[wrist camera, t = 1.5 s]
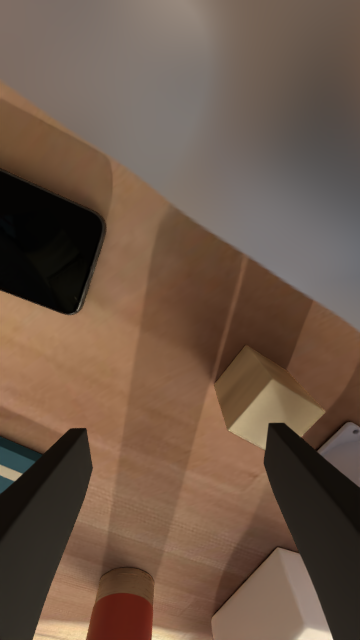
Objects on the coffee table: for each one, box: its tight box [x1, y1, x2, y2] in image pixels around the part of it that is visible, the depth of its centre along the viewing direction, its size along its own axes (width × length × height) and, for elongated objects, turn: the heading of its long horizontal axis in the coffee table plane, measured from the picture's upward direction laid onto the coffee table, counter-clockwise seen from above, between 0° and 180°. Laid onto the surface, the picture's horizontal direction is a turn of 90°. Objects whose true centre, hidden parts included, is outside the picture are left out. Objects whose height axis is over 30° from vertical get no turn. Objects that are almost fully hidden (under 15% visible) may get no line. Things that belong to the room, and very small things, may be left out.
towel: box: [0, 436, 42, 494], centre depth 21 cm, size 8×14×1 cm, turn 147°
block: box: [214, 345, 325, 450], centre depth 16 cm, size 4×4×5 cm
